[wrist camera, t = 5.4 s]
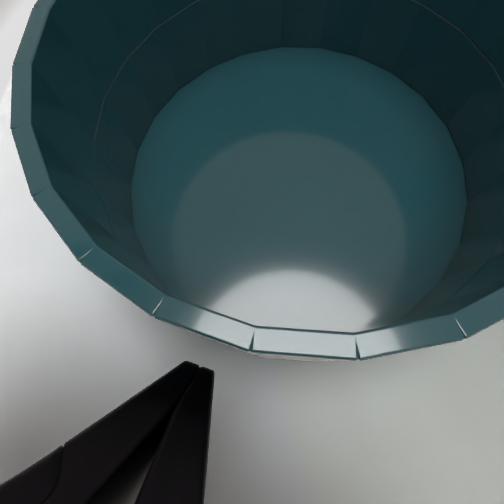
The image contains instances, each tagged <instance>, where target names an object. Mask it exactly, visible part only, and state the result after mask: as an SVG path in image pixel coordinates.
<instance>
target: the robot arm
mask: <svg viewBox="0 0 504 504" xmlns="http://www.w3.org/2000/svg"><path fill="white" fill-rule="evenodd" d="M213 387H214V371H213V370H210V369H208V368H205V367H199V365H197V364H194V363H192V362H189V361H185V362H183V363H181V364H180V365H178V366H177V367H175V368H174V369H173V370H171V371H170V372H168V373H167V374H165V375H164V376H162V377H161V378H159V379H158V380H156V381H155V382H154V383H152V384H151V385H149V386H148V387H146V388H145V389H143V390H142V391H140V392H139V393H138V394H136V395H135V396H133V397H132V398H130V399H129V400H127V401H126V402H124V403H123V404H121V405H120V406H119V407H117V408H116V409H114V410H113V411H111V412H110V413H108V414H107V415H105V416H104V417H103V418H101V419H100V420H98V421H97V422H95V423H94V424H92V425H91V426H89V427H88V428H86V429H85V430H84V431H82V432H81V433H79V434H78V435H76V436H75V437H73V438H72V439H70V440H69V441H67V442H66V443H65V444H64V447H63V446H60V447H58V448H57V449H56V450H54V451H53V452H51V453H50V454H48V455H47V456H45V457H44V458H42V459H41V460H39V461H38V462H36V463H35V464H33V465H32V466H30V467H29V468H27V469H26V470H24V471H22V472H21V473H19V474H18V475H16V476H14V477H13V478H11V479H9V480H8V481H6V482H4V483H3V484H1V485H0V504H204V497H205V484H206V472H207V460H208V448H209V436H210V424H211V411H212V399H213Z"/></svg>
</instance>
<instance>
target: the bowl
mask: <svg viewBox="0 0 504 504" xmlns="http://www.w3.org/2000/svg"><path fill="white" fill-rule="evenodd" d="M13 64H14V65H13V66H12V97H11V130H12V135H13V138H14V141H15V144H16V148H17V151H18V154H19V157H20V160H21V164H22V167H23V170H24V173H25V177H26V180H27V183H28V186H29V190H30V193H31V196H32V197H33V200H34V201H35V203H36V204H37V205H38V207H39V208H40V210H41V211H42V212H43V214H44V215H45V216H46V218H47V219H48V221H49V222H50V223H51V225H52V226H53V227H54V229H55V230H56V232H57V233H58V234H59V236H60V237H61V238H62V240H63V241H64V243H65V244H66V245H67V247H68V248H69V249H70V251H71V252H72V254H73V255H74V256H75V258H76V259H77V261H79V262H80V263H81V265H82V266H84V267H85V268H87V269H88V270H89V271H91V272H92V273H93V274H95V275H96V276H97V277H99V278H100V279H102V280H103V281H104V282H106V283H107V284H108V285H110V286H111V287H112V288H114V289H115V290H116V291H118V292H119V293H121V294H122V295H123V296H125V297H126V298H127V299H129V300H130V301H131V302H133V303H134V304H136V305H137V306H138V307H140V308H141V309H142V310H144V311H145V312H146V313H148V314H149V315H150V316H153V317H155V318H156V319H158V320H161V321H164V322H166V323H169V324H171V325H174V326H176V327H179V328H182V329H184V330H187V331H189V332H192V333H195V334H197V335H200V336H202V337H205V338H208V339H210V340H213V341H216V342H218V343H221V344H224V345H227V346H229V347H232V348H235V349H238V350H240V351H243V352H246V353H249V354H251V355H254V356H257V357H261V358H274V359H285V360H300V361H357V360H366V359H371V358H376V357H381V356H386V355H391V354H396V353H401V352H406V351H411V350H416V349H421V348H426V347H431V346H436V345H441V344H446V343H451V342H456V341H461V340H463V339H467V338H469V337H471V336H473V335H475V334H477V333H478V332H480V331H482V330H484V329H486V328H488V327H490V326H492V325H493V324H495V323H497V322H499V321H501V320H503V319H504V0H38V1H37V2H36V4H35V5H34V8H33V9H32V12H31V14H30V17H29V20H28V23H27V26H26V28H25V31H24V34H23V37H22V40H21V43H20V46H19V49H18V51H17V54H16V57H15V60H14V62H13Z"/></svg>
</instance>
